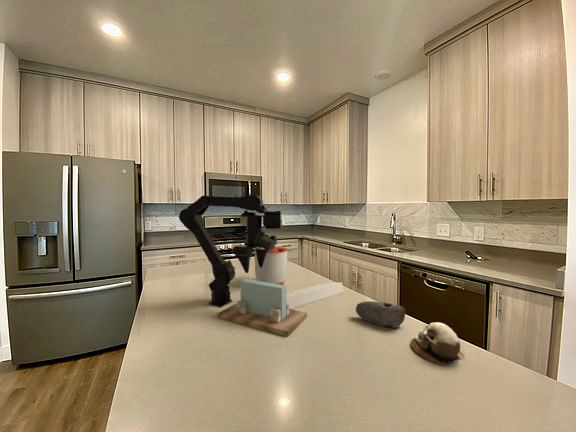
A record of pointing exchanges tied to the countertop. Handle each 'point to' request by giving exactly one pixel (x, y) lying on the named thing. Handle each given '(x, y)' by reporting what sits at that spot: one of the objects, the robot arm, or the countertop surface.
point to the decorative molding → (313, 294)
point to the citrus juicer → (272, 266)
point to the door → (263, 297)
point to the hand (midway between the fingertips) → (254, 269)
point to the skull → (438, 344)
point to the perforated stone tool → (381, 313)
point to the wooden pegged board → (265, 318)
